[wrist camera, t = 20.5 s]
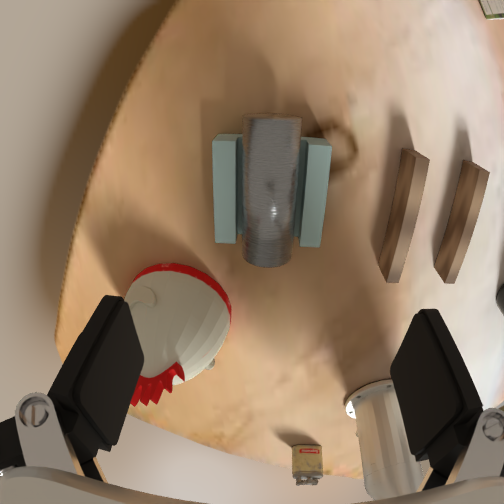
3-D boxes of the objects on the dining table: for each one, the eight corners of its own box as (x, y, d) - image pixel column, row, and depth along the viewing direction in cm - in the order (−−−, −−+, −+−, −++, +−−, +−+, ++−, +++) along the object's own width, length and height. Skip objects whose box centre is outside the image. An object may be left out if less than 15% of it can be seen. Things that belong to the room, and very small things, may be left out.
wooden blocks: (443, 267, 35) (454, 283, 32) (378, 264, 35) (386, 282, 32) (472, 162, 28) (489, 172, 25) (402, 148, 28) (416, 157, 25)
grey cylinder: (291, 242, 33) (292, 268, 29) (244, 240, 33) (239, 265, 29) (299, 115, 26) (304, 122, 22) (245, 112, 26) (239, 119, 22)
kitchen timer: (110, 286, 40) (62, 372, 27) (190, 244, 36) (150, 343, 23) (172, 352, 46) (148, 437, 33) (251, 325, 42) (243, 425, 29)
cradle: (315, 230, 34) (319, 247, 31) (220, 226, 34) (215, 242, 31) (325, 138, 28) (332, 146, 25) (218, 133, 29) (212, 140, 26)
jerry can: (323, 444, 61) (326, 482, 53) (318, 450, 63) (320, 487, 55) (294, 443, 61) (294, 482, 52) (289, 449, 63) (289, 487, 54)
